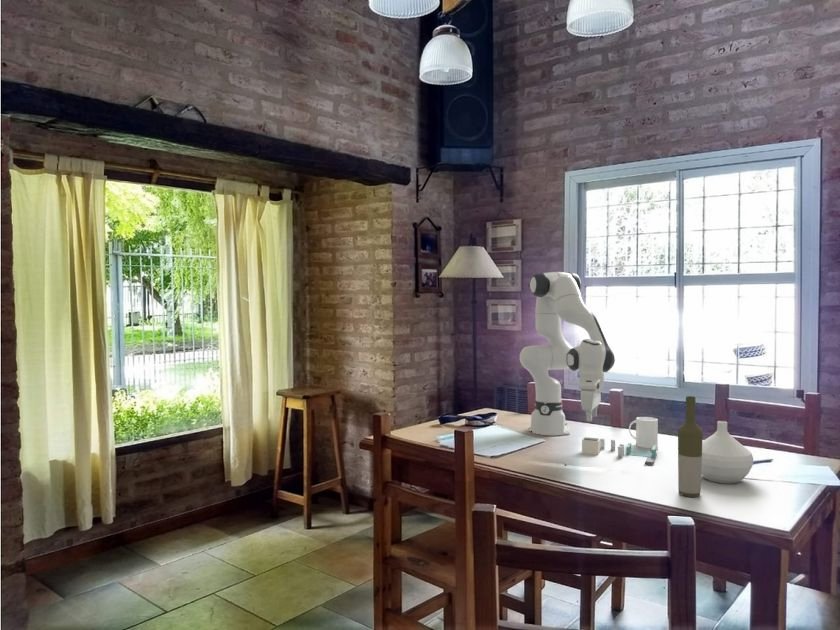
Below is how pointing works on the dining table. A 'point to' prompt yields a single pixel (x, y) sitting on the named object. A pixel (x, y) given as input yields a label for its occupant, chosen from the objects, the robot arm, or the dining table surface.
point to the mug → (646, 432)
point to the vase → (724, 457)
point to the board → (622, 451)
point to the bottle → (689, 453)
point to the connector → (591, 445)
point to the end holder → (639, 453)
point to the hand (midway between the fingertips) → (591, 419)
